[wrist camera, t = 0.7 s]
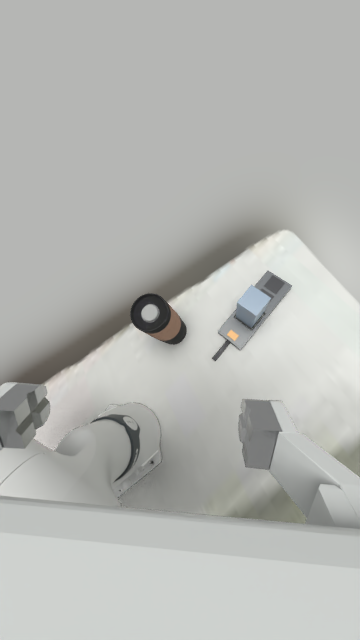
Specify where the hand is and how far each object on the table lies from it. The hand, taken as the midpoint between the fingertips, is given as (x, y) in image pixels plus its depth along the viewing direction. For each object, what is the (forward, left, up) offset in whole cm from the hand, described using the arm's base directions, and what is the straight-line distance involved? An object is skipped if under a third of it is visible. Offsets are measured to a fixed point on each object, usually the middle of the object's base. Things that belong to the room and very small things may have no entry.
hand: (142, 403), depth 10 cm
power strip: (+17, +4, -51) cm, 53 cm away
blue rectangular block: (+18, +4, -51) cm, 54 cm away
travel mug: (+3, +17, -51) cm, 54 cm away
